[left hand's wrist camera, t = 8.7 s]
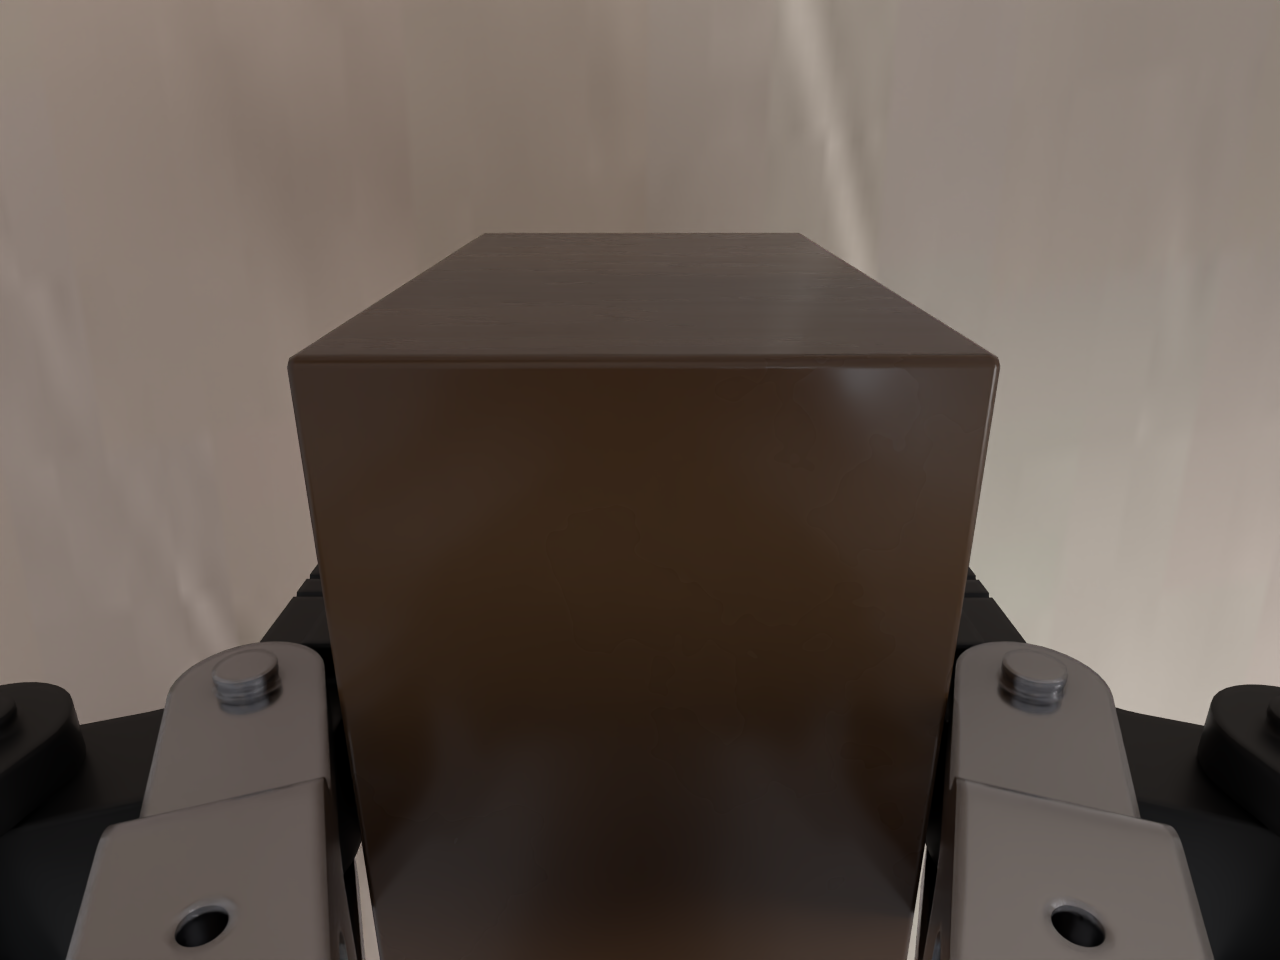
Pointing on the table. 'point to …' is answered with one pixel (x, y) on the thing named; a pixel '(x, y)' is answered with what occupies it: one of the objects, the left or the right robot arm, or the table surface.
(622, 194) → the table surface
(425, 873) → the bar
